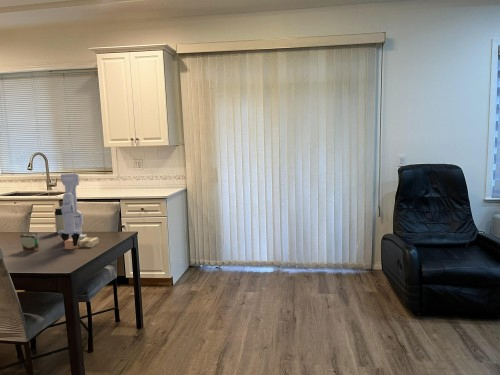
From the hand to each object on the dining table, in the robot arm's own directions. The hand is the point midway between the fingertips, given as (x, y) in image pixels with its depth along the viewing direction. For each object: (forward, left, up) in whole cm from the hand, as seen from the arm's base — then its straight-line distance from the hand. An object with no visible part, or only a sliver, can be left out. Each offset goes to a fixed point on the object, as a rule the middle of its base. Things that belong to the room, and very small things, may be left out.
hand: (71, 245), depth 222 cm
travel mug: (-32, +35, -2) cm, 47 cm away
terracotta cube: (0, 0, -1) cm, 1 cm away
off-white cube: (0, +10, -2) cm, 10 cm away
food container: (-21, -6, -2) cm, 22 cm away
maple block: (+8, +6, -2) cm, 10 cm away
